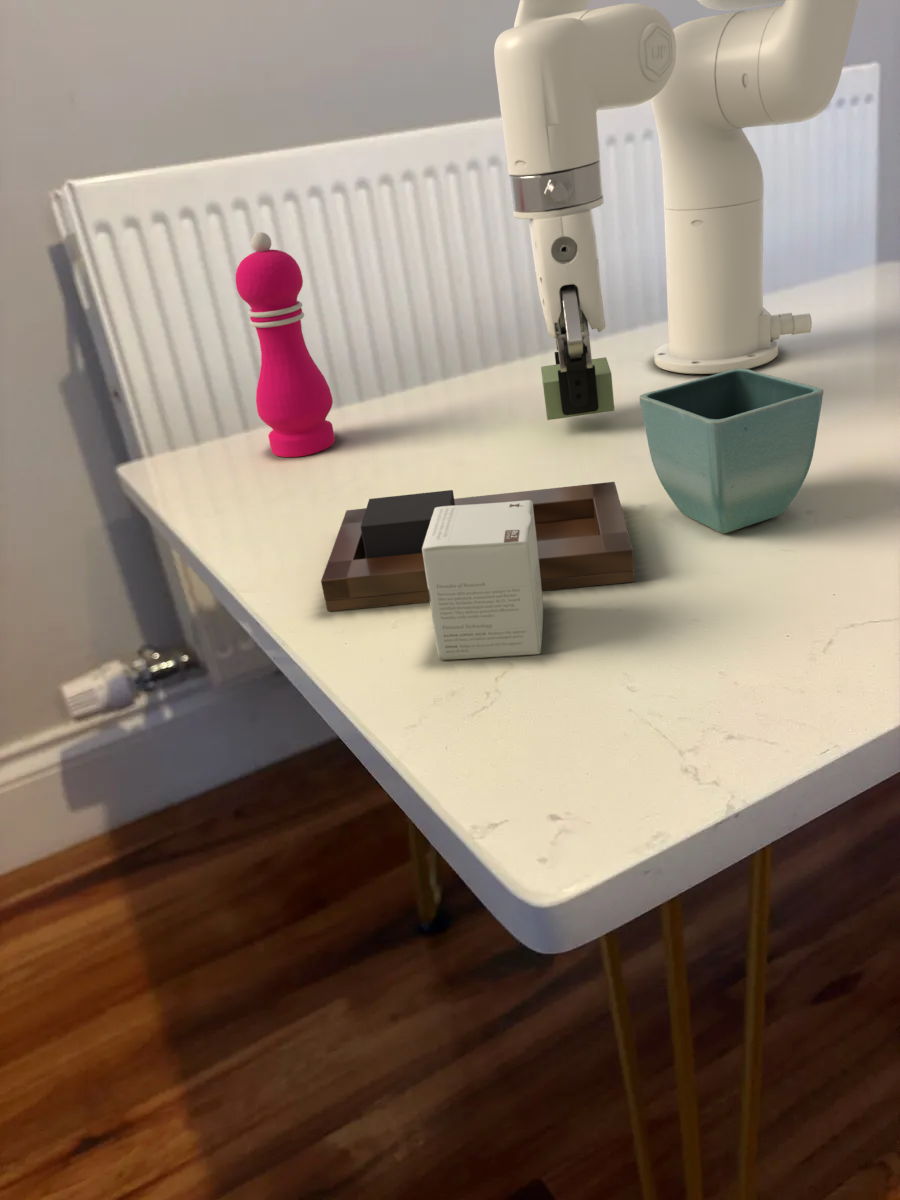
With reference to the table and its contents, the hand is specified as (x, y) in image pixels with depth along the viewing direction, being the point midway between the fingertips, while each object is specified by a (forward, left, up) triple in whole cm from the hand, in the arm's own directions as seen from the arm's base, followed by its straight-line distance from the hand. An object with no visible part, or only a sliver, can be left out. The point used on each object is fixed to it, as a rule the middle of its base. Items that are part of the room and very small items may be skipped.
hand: (578, 399), depth 93 cm
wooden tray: (+9, +27, -2) cm, 28 cm away
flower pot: (-9, +24, -3) cm, 26 cm away
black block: (+13, +27, -2) cm, 30 cm away
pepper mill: (+27, -3, -3) cm, 27 cm away
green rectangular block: (0, 0, -1) cm, 1 cm away
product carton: (+8, +38, -3) cm, 39 cm away
